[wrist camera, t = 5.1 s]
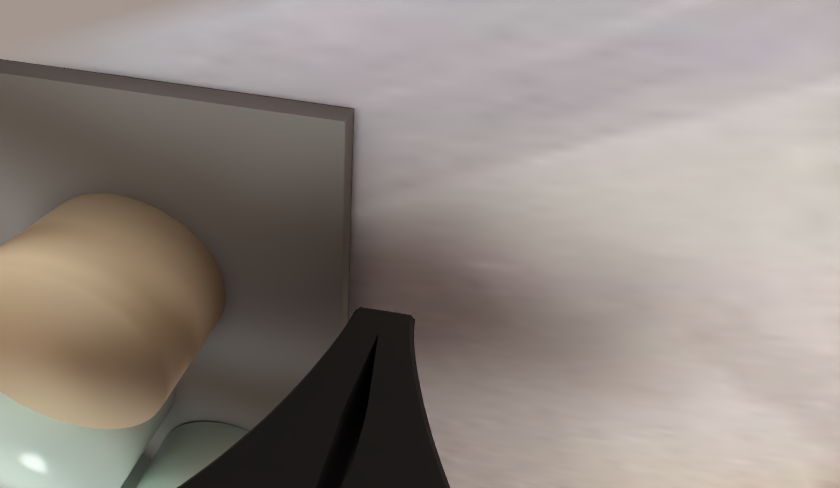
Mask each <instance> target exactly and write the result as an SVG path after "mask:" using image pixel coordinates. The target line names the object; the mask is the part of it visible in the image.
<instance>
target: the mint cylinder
mask: <svg viewBox="0 0 840 488" xmlns="http://www.w3.org/2000/svg"><path fill="white" fill-rule="evenodd" d="M173 402H174V390H172V392H171V393H170V395H169V396H168V398H167V399H166V401H165V402H164V404H163V406H162V407H161V409H160V410H159V411H158V412H157V413H156V415H155V416H153V417H152V418H151V419H149V420H148V421H146V422H144V423H142V424H139V425H136V426H133V427H128V428H122V429H96V428H88V427H82V426H77V425H73V424H69V423H66V422H62V421H59V420H56V419H53V418H50V417H48V416H45V415H43V414H40V413H38V412H36V411H33V410H31V409H29V408H27V407H25V406H23V405H21V404H20V403H18V402H16V401H14V400H13V399H11V398H9V397H8V396H6V395H5V394H3V393H2V392H0V488H121V486H122V484H123V483H124V481H125V480H126V478H127V477H128V475H129V474H130V472H131V470H132V469H133V467H134V466H135V464H136V463H137V461H138V459H139V458H140V456H141V455H142V453H143V452H144V450H145V448H146V447H147V445H148V444H149V442H150V441H151V439H152V438H153V436H154V434H155V433H156V431H157V430H158V428H159V427H160V425H161V423H162V422H163V420H164V419H165V417H166V416H167V414H168V412H169V411H170V409H171V407H172V406H173Z"/></svg>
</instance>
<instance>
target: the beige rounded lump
mask: <svg viewBox="0 0 840 488" xmlns="http://www.w3.org/2000/svg"><path fill="white" fill-rule="evenodd" d="M225 300H226V293H225V285H224V281H223V277H222V275H221V272H220V269H219V267H218V266H217V264H216V262H215V260H214V258H213V257H212V255H211V254H210V252H209V251H208V250H207V248H206V247H205V246H204V245H203V244H202V242H201V241H200V240H199V239H198V238H197V237H196V236H195V235H194V234H193V233H192V232H191V231H190V230H189V229H187V228H186V227H185V226H183V225H182V224H181V223H180V222H178V221H177V220H175V219H174V218H172V217H171V216H169V215H168V214H166V213H164V212H163V211H161V210H159V209H157V208H155V207H153V206H151V205H148V204H146V203H144V202H141V201H138V200H135V199H132V198H129V197H124V196H119V195H114V194H103V193H101V194H87V195H81V196H78V197H75V198H72V199H70V200H68V201H66V202H64V203H63V204H61V205H60V206H58V207H57V208H55V209H54V210H52V211H51V212H49V213H48V214H46V215H45V216H44V217H42V218H41V219H39V220H38V221H36V222H35V223H33V224H32V225H30V226H29V227H28V228H26V229H25V230H23V231H22V232H20V233H19V234H17V235H16V236H14V237H13V238H12V239H10V240H9V241H7V242H6V243H4V244H3V245H1V246H0V392H2V393H3V394H5V395H6V396H8V397H9V398H11V399H13V400H14V401H16V402H18V403H20V404H21V405H23V406H25V407H27V408H29V409H31V410H33V411H36V412H38V413H40V414H43V415H45V416H48V417H50V418H53V419H56V420H59V421H62V422H66V423H69V424H73V425H77V426H82V427H88V428H96V429H122V428H128V427H133V426H136V425H139V424H142V423H144V422H146V421H148V420H149V419H151V418H152V417H153V416H155V415H156V413H157V412H158V411H159V410H160V409H161V407H162V406H163V404H164V402H165V401H166V399H167V398H168V396H169V395H170V393H171V392H172V390H173V389H174V387H175V386H176V384H177V383H178V381H179V380H180V378H181V377H182V375H183V374H184V372H185V371H186V369H187V368H188V366H189V365H190V363H191V362H192V360H193V359H194V357H195V356H196V354H197V353H198V351H199V350H200V348H201V346H202V345H203V343H204V342H205V340H206V339H207V337H208V336H209V334H210V333H211V331H212V330H213V328H214V327H215V325H216V324H217V322H218V321H219V319H220V317H221V315H222V313H223V310H224V307H225Z"/></svg>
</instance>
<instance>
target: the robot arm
mask: <svg viewBox="0 0 840 488" xmlns="http://www.w3.org/2000/svg"><path fill="white" fill-rule="evenodd" d="M414 325H415V319H414V318H413V317H412V316H411V315H407V314H401V313H394V312H388V311H382V310H375V309H369V308H362V307H360V308H358V309H357V310H355V312H354V314H353V315H352V317H351V319H350V320H349V322H348V323H347V325H346V326H345V328H344V329H343V330H342V332H341V333H340V335H339V336H338V337H337V339H336V340H335V341H334V342H333V344H332V345H331V346H330V348H329V349H328V350H327V351H326V353H325V354H324V355H323V356H322V357H321V359H320V360H319V361H318V362H317V363H316V365H315V366H314V367H313V368H312V369H311V371H310V372H309V373H308V374H307V375H306V376H305V377H304V378H303V379H302V380H301V381H300V383H299V384H298V385H297V386H296V387H295V388H294V389H293V390H292V391H291V392H290V393H289V394H288V395H287V397H286V398H285V399H284V400H283V401H282V402H281V403H280V404H279V405H277V406H276V407H275V408H274V409H273V410H272V411H271V412H270V413H269V414H268V415H267V416H266V417H265V418H264V419H263V420H262V421H261V422H259V423H258V424H257V425H256V426H255V427H254V428H253V429H252V430H251V431H249V432H248V433H247V434H246V435H245V436H243V437H242V438H241V439H240V440H239V441H238V442H236V443H235V444H234V445H233V446H232V447H230V448H229V449H228V450H227V451H226V452H224V453H223V454H222V455H221V456H219V457H218V458H217V459H216V460H214V461H213V462H212V463H210V464H209V465H208V466H206V467H205V468H204V469H202V470H201V471H199V472H198V473H197V474H195V475H194V476H193V477H191V478H190V479H188V480H187V481H186V482H184V483H183V484H182V485H180V486H179V487H177V488H450V486H449V483H448V481H447V478H446V475H445V472H444V470H443V467H442V464H441V461H440V458H439V455H438V452H437V449H436V446H435V443H434V440H433V437H432V433H431V430H430V426H429V423H428V419H427V415H426V411H425V407H424V403H423V398H422V394H421V389H420V383H419V378H418V372H417V366H416V358H415V349H414Z"/></svg>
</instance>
